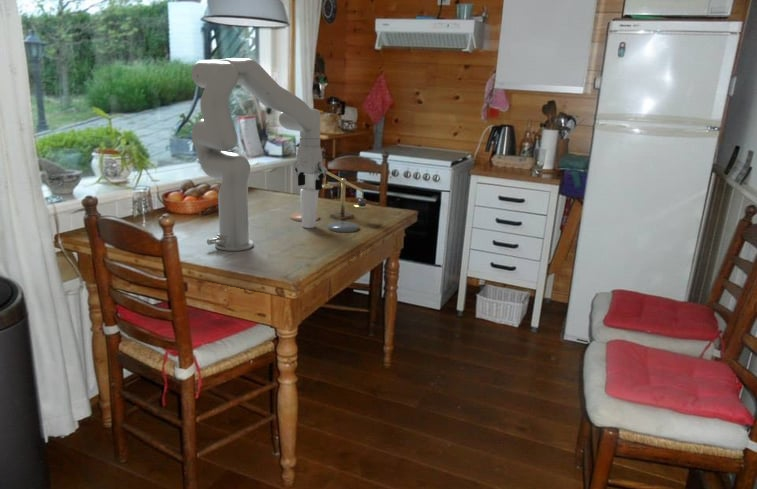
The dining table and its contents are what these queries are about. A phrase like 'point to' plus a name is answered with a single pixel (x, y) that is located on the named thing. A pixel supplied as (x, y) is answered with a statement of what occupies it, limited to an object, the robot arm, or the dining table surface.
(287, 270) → the dining table surface
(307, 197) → the drinking glass
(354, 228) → the dish slate
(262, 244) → the dining table surface
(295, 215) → the pink dome
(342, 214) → the balance
